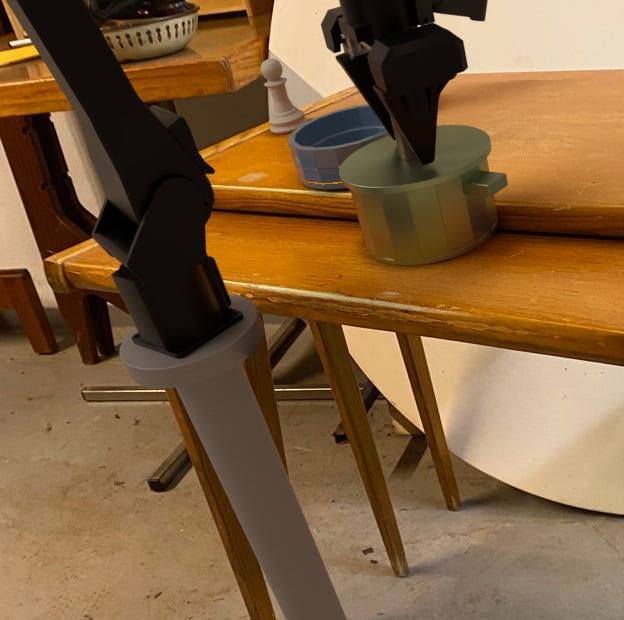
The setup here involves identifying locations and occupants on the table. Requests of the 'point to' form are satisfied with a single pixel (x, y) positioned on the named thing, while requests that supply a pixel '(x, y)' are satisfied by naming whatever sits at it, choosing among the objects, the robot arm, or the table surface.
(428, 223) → the pot
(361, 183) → the lid
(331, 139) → the pan
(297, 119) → the chess piece
